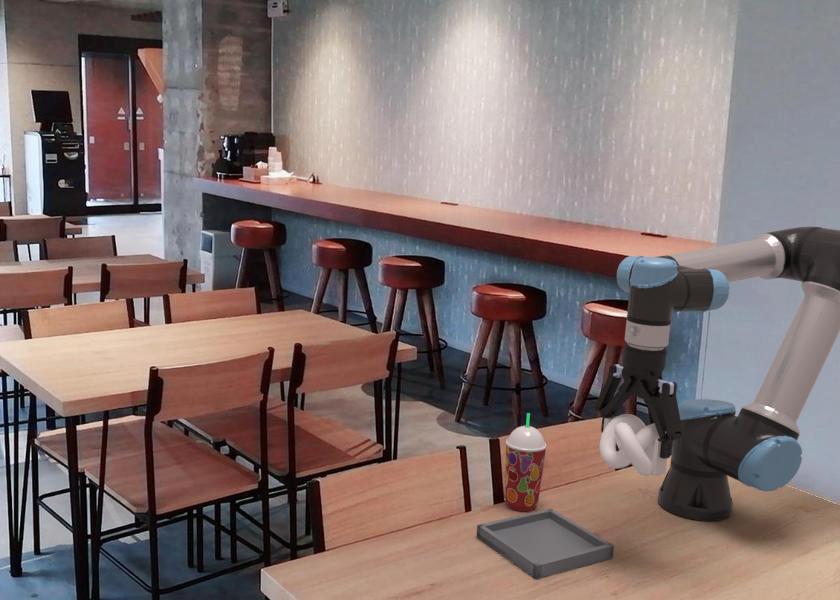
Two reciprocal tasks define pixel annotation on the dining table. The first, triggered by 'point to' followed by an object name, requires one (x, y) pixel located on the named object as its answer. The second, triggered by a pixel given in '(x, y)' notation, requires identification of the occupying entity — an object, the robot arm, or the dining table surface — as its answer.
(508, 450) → the smoothie
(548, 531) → the tray
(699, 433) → the robot arm
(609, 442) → the white trefoil knot
